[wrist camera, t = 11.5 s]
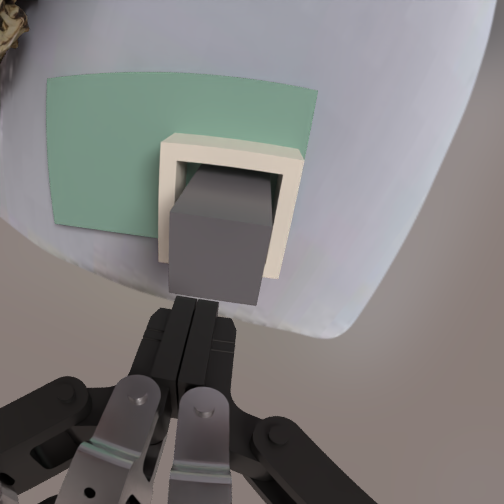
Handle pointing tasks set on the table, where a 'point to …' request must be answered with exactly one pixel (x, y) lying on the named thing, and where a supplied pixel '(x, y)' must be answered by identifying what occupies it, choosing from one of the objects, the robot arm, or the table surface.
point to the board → (152, 136)
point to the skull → (11, 25)
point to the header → (232, 155)
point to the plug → (221, 234)
